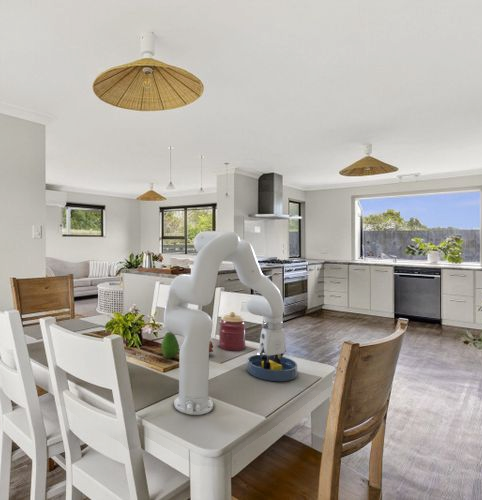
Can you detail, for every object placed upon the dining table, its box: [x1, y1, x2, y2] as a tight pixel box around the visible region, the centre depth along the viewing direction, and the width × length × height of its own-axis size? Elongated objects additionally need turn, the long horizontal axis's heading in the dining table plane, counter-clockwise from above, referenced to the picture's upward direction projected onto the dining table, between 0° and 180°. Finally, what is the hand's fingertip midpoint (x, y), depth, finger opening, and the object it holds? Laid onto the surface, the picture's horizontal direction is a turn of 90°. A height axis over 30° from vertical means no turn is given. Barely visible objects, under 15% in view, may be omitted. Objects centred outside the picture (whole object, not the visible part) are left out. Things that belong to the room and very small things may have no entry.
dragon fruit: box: [209, 340, 214, 353], centre depth 167 cm, size 8×8×12 cm
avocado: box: [160, 331, 180, 360], centre depth 163 cm, size 8×8×12 cm
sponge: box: [261, 360, 282, 370], centre depth 146 cm, size 7×4×3 cm, turn 25°
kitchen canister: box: [218, 311, 247, 351], centre depth 180 cm, size 13×13×18 cm
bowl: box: [246, 354, 298, 382], centre depth 147 cm, size 19×19×4 cm
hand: (271, 369), depth 147 cm, fingers closed on sponge, 4 cm apart
